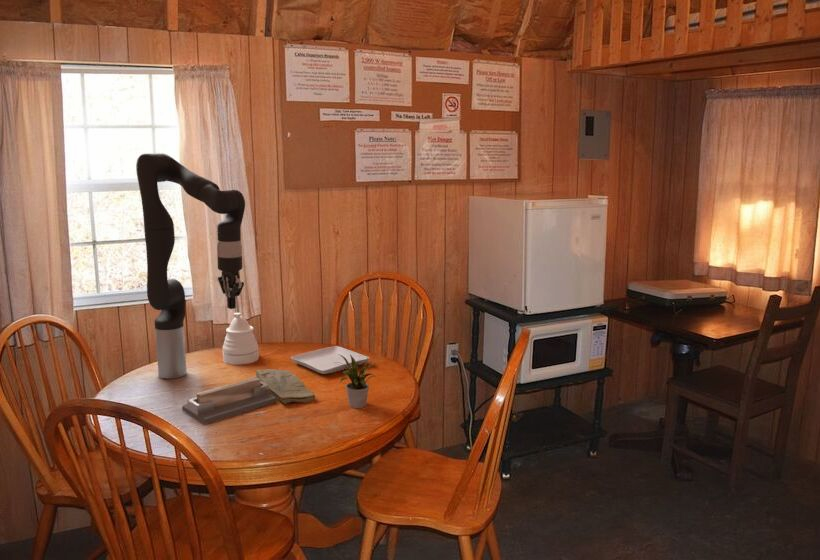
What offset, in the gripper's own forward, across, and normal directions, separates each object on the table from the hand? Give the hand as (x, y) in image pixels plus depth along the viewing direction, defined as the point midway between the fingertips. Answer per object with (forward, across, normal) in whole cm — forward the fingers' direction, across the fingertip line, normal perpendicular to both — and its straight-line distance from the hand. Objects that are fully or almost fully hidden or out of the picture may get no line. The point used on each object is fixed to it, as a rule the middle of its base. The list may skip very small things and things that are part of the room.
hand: (231, 308), depth 211 cm
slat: (+26, -12, +8) cm, 29 cm away
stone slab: (+28, -10, -12) cm, 32 cm away
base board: (+27, -12, +8) cm, 31 cm away
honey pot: (+28, +26, -17) cm, 42 cm away
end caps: (+26, -12, +8) cm, 29 cm away
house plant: (+27, -37, -20) cm, 50 cm away
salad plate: (+28, -1, -38) cm, 47 cm away
